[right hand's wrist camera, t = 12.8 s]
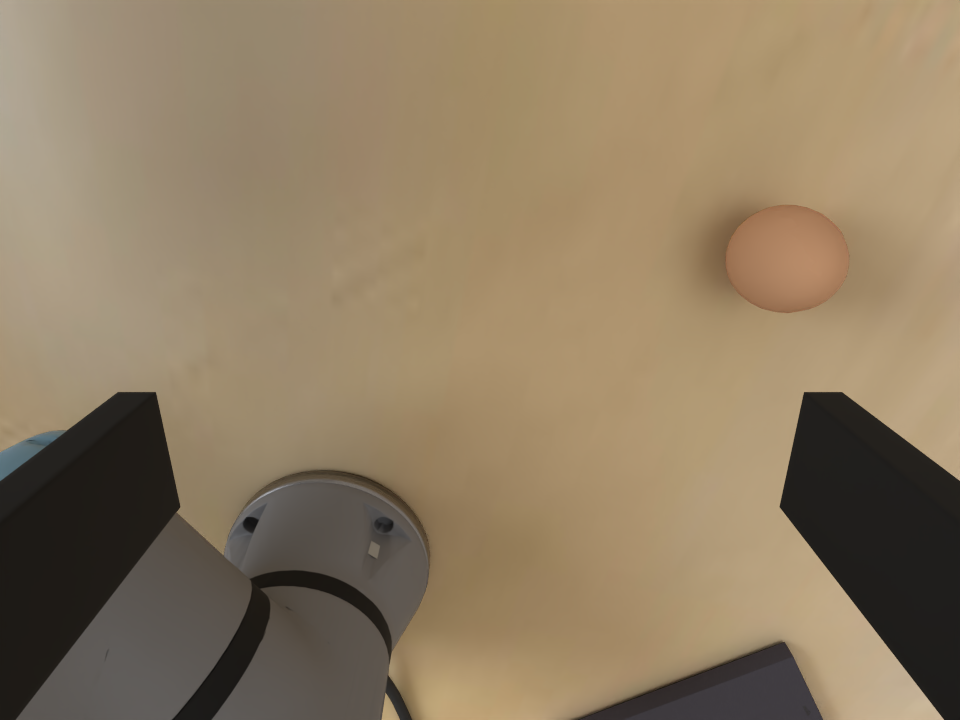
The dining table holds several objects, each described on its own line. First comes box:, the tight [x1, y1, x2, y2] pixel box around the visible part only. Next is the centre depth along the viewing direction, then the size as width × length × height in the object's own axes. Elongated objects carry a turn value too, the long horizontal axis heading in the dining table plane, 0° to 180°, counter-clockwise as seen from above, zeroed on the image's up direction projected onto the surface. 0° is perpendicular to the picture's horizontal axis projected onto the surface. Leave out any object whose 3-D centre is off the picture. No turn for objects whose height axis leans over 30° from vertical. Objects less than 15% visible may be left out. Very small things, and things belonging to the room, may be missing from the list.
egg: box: [726, 205, 849, 313], centre depth 35 cm, size 6×6×8 cm
